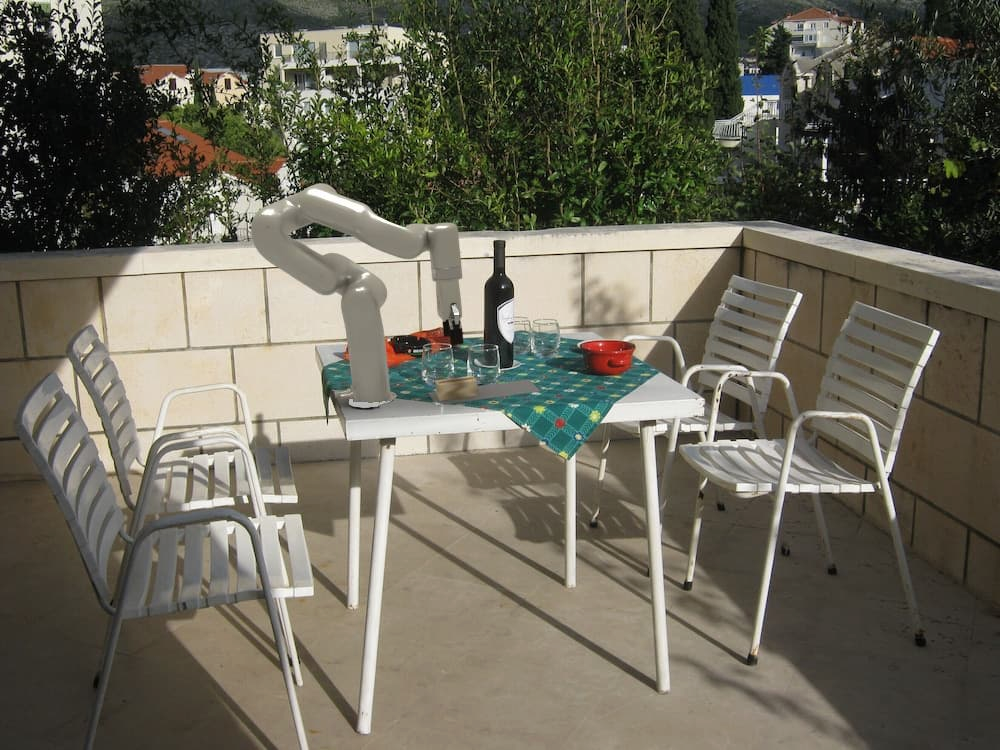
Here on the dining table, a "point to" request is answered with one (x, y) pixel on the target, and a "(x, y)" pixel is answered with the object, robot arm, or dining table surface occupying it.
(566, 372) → the dining table surface
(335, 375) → the dining table surface
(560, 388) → the dining table surface
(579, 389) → the dining table surface
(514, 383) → the rubber mat
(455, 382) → the birch tile
